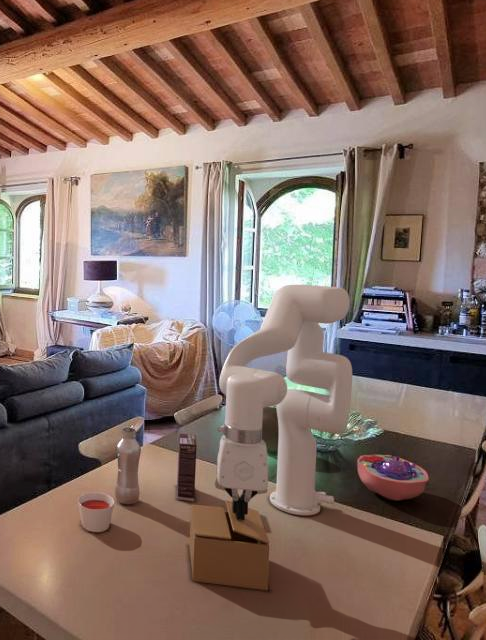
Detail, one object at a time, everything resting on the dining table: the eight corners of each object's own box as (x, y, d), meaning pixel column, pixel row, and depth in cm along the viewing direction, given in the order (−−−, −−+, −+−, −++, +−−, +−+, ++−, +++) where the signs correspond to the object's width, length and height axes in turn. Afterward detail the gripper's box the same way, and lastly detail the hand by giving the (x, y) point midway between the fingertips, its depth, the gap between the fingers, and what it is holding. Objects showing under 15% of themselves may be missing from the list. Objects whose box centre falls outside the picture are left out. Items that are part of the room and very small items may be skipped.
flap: (257, 512, 118) (257, 510, 118) (268, 543, 106) (269, 542, 106) (225, 501, 120) (226, 500, 119) (233, 531, 107) (233, 529, 107)
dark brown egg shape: (294, 448, 183) (296, 406, 182) (287, 462, 171) (289, 417, 170) (252, 439, 190) (254, 399, 189) (242, 452, 179) (244, 409, 178)
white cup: (88, 538, 124) (89, 513, 124) (71, 520, 132) (71, 496, 132) (120, 529, 128) (121, 505, 128) (101, 513, 136) (101, 489, 136)
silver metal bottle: (112, 496, 146) (114, 425, 144) (136, 495, 146) (138, 425, 145) (117, 507, 139) (118, 434, 138) (142, 507, 140) (144, 433, 139)
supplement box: (195, 502, 143) (197, 445, 142) (177, 500, 144) (178, 443, 143) (193, 487, 152) (195, 434, 150) (176, 486, 152) (178, 432, 151)
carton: (256, 554, 119) (257, 510, 118) (267, 590, 107) (269, 542, 106) (189, 546, 122) (190, 504, 121) (193, 581, 109) (194, 533, 108)
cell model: (418, 486, 155) (420, 449, 154) (432, 518, 137) (435, 475, 136) (353, 475, 162) (355, 439, 161) (358, 503, 144) (361, 463, 143)
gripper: (208, 436, 109) (205, 521, 110) (284, 442, 107) (280, 529, 108) (205, 424, 117) (202, 504, 118) (276, 430, 114) (272, 512, 115)
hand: (239, 516), depth 113 cm, fingers closed
